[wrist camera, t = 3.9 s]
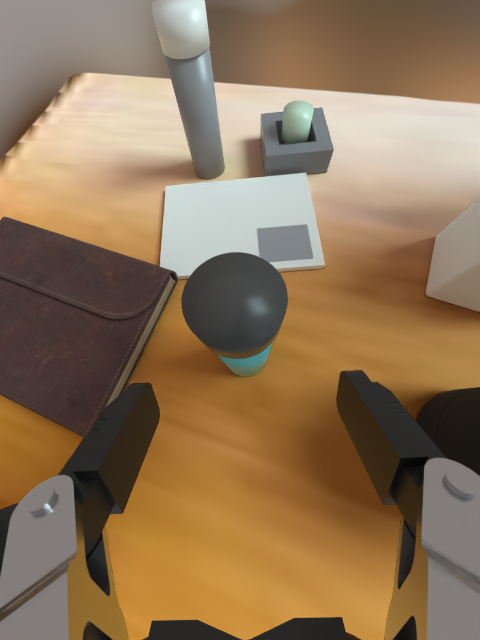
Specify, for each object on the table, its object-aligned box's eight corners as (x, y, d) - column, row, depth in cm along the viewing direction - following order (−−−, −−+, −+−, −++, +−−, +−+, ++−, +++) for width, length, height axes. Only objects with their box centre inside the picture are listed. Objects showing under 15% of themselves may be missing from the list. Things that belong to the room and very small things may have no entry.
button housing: (316, 131, 28) (322, 107, 26) (326, 172, 26) (333, 149, 23) (260, 137, 28) (260, 114, 26) (265, 178, 26) (266, 156, 24)
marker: (265, 333, 20) (281, 248, 9) (270, 377, 19) (294, 345, 7) (223, 335, 20) (183, 256, 9) (224, 379, 19) (179, 352, 7)
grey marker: (224, 155, 28) (204, -13, 16) (225, 178, 26) (204, 12, 15) (194, 158, 28) (153, -6, 16) (194, 181, 26) (149, 19, 15)
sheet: (305, 177, 26) (306, 171, 25) (323, 268, 22) (325, 264, 21) (167, 190, 26) (165, 185, 26) (161, 280, 22) (158, 277, 22)
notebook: (100, 437, 18) (81, 444, 16) (-70, 352, 21) (-103, 349, 19) (179, 277, 22) (172, 266, 20) (23, 226, 25) (4, 213, 23)
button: (305, 129, 26) (311, 99, 23) (309, 147, 25) (315, 117, 22) (279, 132, 26) (282, 102, 23) (282, 150, 25) (285, 120, 22)
